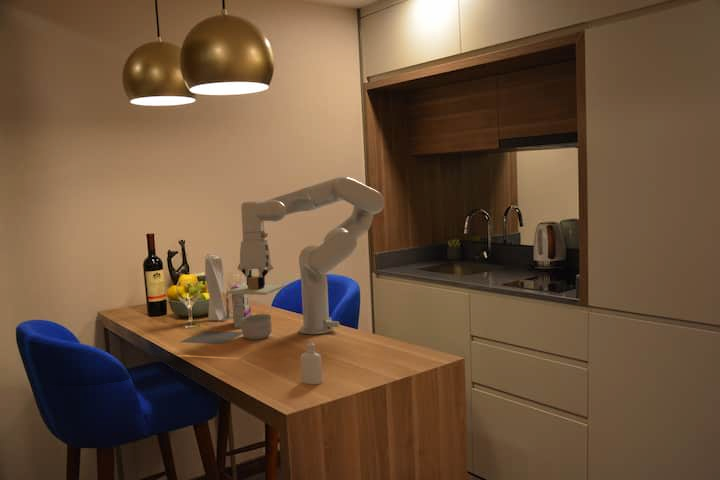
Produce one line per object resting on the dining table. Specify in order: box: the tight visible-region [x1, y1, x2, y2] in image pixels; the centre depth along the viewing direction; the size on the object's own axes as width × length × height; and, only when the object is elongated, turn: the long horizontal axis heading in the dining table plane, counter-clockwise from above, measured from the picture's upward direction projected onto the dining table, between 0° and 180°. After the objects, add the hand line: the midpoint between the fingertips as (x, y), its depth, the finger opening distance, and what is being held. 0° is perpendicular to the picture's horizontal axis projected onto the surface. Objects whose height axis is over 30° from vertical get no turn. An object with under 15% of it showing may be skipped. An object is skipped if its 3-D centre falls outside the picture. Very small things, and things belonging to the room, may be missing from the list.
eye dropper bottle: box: [300, 339, 323, 385], centre depth 174 cm, size 4×6×12 cm
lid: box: [226, 275, 285, 296], centre depth 226 cm, size 15×15×5 cm
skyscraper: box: [204, 252, 233, 322], centre depth 259 cm, size 8×8×28 cm
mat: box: [180, 330, 243, 345], centre depth 228 cm, size 17×17×1 cm
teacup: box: [240, 313, 273, 341], centre depth 227 cm, size 14×11×8 cm
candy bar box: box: [230, 281, 252, 329], centre depth 246 cm, size 11×5×16 cm, turn 179°
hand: (256, 287), depth 226 cm, fingers closed on lid, 3 cm apart
